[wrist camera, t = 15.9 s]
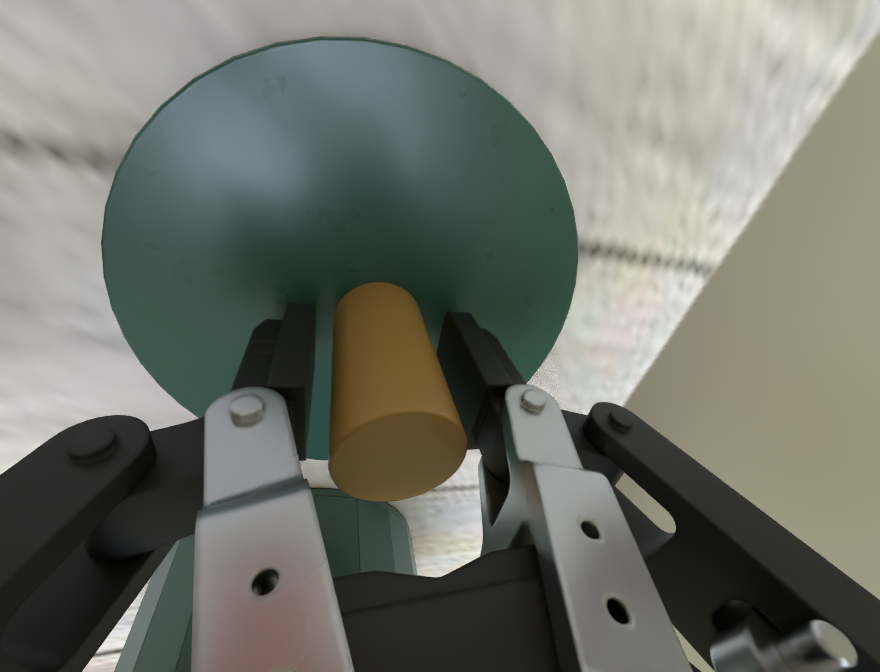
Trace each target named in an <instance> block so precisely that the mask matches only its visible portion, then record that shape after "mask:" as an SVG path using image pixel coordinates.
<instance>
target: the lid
mask: <svg viewBox="0 0 880 672" xmlns="http://www.w3.org/2000/svg"><path fill="white" fill-rule="evenodd" d="M101 246H102V259H103V273H104V279H105V283H106V287H107V291H108V295H109V299H110V303H111V307H112V310H113V312H114V314H115V317H116V319H117V321H118V324H119V326H120V328H121V331H122V333H123V335H124V337H125V339H126V341H127V342H128V344H129V345H130V347H131V349H132V350H133V352H134V353H135V355H136V356H137V358H138V360H139V361H140V363H141V364H142V365H143V366H144V368H145V369H146V370H147V371H148V372H149V374H150V375H151V376H152V377H153V378H154V379H155V381H156V382H157V383H158V384H159V385H160V386H161V387H162V388H163V389H164V390H165V391H166V392H167V393H168V394H169V395H170V396H172V397H173V398H174V399H175V400H176V401H177V402H178V403H179V404H180V405H182V406H183V407H184V408H186V409H187V410H189V411H190V412H191V413H193V414H194V415H195V416H197V417H198V418H201V417H203V416H205V413H206V411H207V409H208V408H209V406H210V405H211V404H212V403H213V402H214V401H215V400H216V399H218V398H219V397H220V396H222V395H224V394H226V393H228V392H230V391H231V388H232V385H233V383H234V380H235V377H236V375H237V372H238V369H239V367H240V364H241V361H242V359H243V356H244V354H245V351H246V348H247V345H248V344H249V340H250V337H251V335H252V332H253V329H254V328H255V327H257V326H258V325H259V324H260V323H262V322H263V321H264V320H265V319H278V320H283V317H284V313H285V309H286V306H287V303H288V302H289V303H307V304H315V370H314V381H313V391H312V401H311V412H310V422H309V433H308V443H307V453H306V458H308V459H315V460H328V467H329V472H330V476H331V477H332V479H333V481H334V483H335V484H336V485H337V486H338V487H339V488H340V489H341V490H342V491H344V492H345V493H347V494H349V495H351V496H353V497H356V498H359V499H363V500H368V501H377V502H387V501H397V500H403V499H408V498H411V497H415V496H418V495H421V494H423V493H426V492H428V491H430V490H432V489H434V488H436V487H437V486H439V485H441V484H442V483H444V482H445V481H446V480H447V479H449V478H450V477H451V476H452V475H453V474H454V473H455V472H456V471H457V470H458V468H459V467H460V465H461V464H462V462H463V460H464V458H465V455H466V451H467V437H466V434H465V431H464V428H463V426H462V423H461V420H460V418H459V415H458V412H457V409H456V407H455V404H454V401H453V399H452V396H451V393H450V390H449V388H448V385H447V382H446V380H445V377H444V374H443V372H442V369H441V366H440V363H439V361H438V358H437V355H436V352H437V347H438V343H439V338H440V334H441V329H442V325H443V320H444V317H445V314H446V313H447V312H448V311H450V312H468V313H471V314H472V315H473V317H474V319H475V320H476V322H477V324H478V325H479V327H480V328H485V329H487V330H488V331H489V332H490V333H492V334H493V335H494V336H495V337H497V339H498V340H499V342H500V343H501V345H502V347H503V349H504V350H505V351H506V353H507V354H508V358H510V359H511V360H512V362H513V364H514V365H515V367H516V368H517V370H518V371H519V373H520V374H521V376H522V377H523V379H524V381H525V382H526V383H527V382H528V381H529V380H530V379H531V377H532V376H533V375H534V374H535V372H536V371H537V370H538V369H539V367H540V366H541V365H542V363H543V362H544V360H545V359H546V357H547V355H548V354H549V352H550V351H551V349H552V348H553V346H554V344H555V342H556V340H557V338H558V336H559V334H560V332H561V330H562V328H563V325H564V322H565V320H566V317H567V314H568V311H569V309H570V305H571V301H572V297H573V293H574V288H575V284H576V275H577V265H578V237H577V229H576V223H575V217H574V211H573V207H572V203H571V200H570V197H569V194H568V191H567V187H566V184H565V181H564V179H563V177H562V175H561V173H560V171H559V169H558V167H557V164H556V162H555V160H554V158H553V156H552V154H551V153H550V151H549V150H548V148H547V147H546V145H545V144H544V142H543V141H542V139H541V138H540V136H539V135H538V133H537V132H536V130H535V129H534V128H533V126H532V125H531V124H530V123H529V122H528V121H527V120H526V119H525V118H524V117H523V116H522V115H521V114H520V112H519V111H518V110H517V109H516V108H515V107H514V106H513V105H512V104H511V103H510V102H509V101H508V100H507V99H505V98H504V97H503V96H501V95H500V94H499V93H498V92H496V91H495V90H494V89H493V88H491V87H490V86H489V85H488V84H486V83H485V82H484V81H482V80H481V79H480V78H478V77H476V76H474V75H472V74H471V73H469V72H467V71H465V70H463V69H462V68H460V67H458V66H456V65H454V64H453V63H451V62H449V61H447V60H445V59H442V58H440V57H437V56H434V55H431V54H429V53H426V52H423V51H421V50H418V49H415V48H412V47H410V46H406V45H401V44H396V43H391V42H386V41H380V40H375V39H370V38H364V37H325V36H320V37H313V38H306V39H299V40H292V41H285V42H278V43H274V44H271V45H268V46H265V47H261V48H258V49H255V50H252V51H249V52H246V53H243V54H240V55H237V56H234V57H232V58H230V59H228V60H226V61H224V62H223V63H221V64H219V65H217V66H215V67H213V68H212V69H210V70H208V71H206V72H204V73H202V74H201V75H199V76H197V77H195V78H194V79H192V80H191V81H190V82H189V83H187V84H186V85H185V86H184V87H183V88H181V89H180V90H179V91H178V92H176V93H175V94H174V95H173V96H172V97H170V98H169V99H168V100H167V101H165V102H164V103H163V104H162V105H161V106H160V107H159V108H158V109H157V111H156V112H155V113H154V114H153V115H152V117H151V118H150V119H149V120H148V121H147V123H146V124H145V125H144V126H143V127H142V129H141V130H140V131H139V132H138V133H137V135H136V136H135V137H134V139H133V141H132V143H131V145H130V147H129V148H128V150H127V152H126V154H125V156H124V158H123V159H122V161H121V163H120V165H119V167H118V169H117V170H116V173H115V177H114V180H113V183H112V186H111V189H110V193H109V196H108V199H107V202H106V206H105V213H104V222H103V231H102V240H101Z"/></svg>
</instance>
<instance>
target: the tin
mask: <svg viewBox="0 0 880 672" xmlns="http://www.w3.org/2000/svg"><path fill="white" fill-rule="evenodd" d="M311 493H312V497H313V501H314V506H315V510H316V514H317V518H318V522H319V526H320V531H321V535H322V539H323V543H324V547H325V551H326V556H327V560H328V564H329V568H330V572H331V576H332V577H338V576H345V575H351V574H357V573H363V572H369V571H375V570H376V571H384V572H392V573H401V574H409V575H417V570H416V564H415V558H414V552H413V545H412V540H411V537H410V534H409V528H408V525H407V523H406V521H405V519H404V518H403V516H402V515H401V514H400V513H399V512H398V511H397V510H396V509H395V508H393V507H392V506H390V505H389V504H387V503H385V502H377V501H368V500H363V499H359V498H356V497H353V496H351V495H349V494H347V493H345V492H344V491H342V490H335V489H311ZM194 551H195V534H193V535H190V536H187V537H185V538H182V539H180V540H177V541H176V543H175V544H174V546H173V547H172V549H171V550H170V551H169V553H168V554H167V555H166V557H165V558H164V560H163V561H162V562H161V564H160V565H159V566H158V568H157V569H156V571H155V572H154V573H153V575H152V577H151V579H150V582H149V584H148V587H147V589H146V592H145V595H144V597H143V600H142V602H141V605H140V607H139V610H138V612H137V615H136V617H135V620H134V623H133V625H132V628H131V630H130V633H129V635H128V638H127V640H126V643H125V645H124V648H123V650H122V653H121V656H120V658H119V661H118V663H117V666H116V668H115V671H114V672H191V652H192V618H193V585H194Z"/></svg>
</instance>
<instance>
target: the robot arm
mask: <svg viewBox="0 0 880 672" xmlns="http://www.w3.org/2000/svg"><path fill="white" fill-rule="evenodd" d="M436 355H437V358H438V361H439V363H440V366H441V369H442V372H443V374H444V377H445V380H446V382H447V385H448V388H449V390H450V393H451V396H452V399H453V401H454V404H455V407H456V409H457V412H458V415H459V418H460V420H461V423H462V426H463V428H464V431H465V434H466V437H467V450H470V449H479V450H480V452H481V455H482V456H481V459H480V462H479V465H478V476H479V488H480V500H481V513H482V525H483V544H482V550H481V555H480V557H479V558H477V559H475V560H473V561H471V562H469V563H467V564H466V565H464V566H462V567H460V568H458V569H456V570H454V571H452V572H450V573H448V574H446V575H444V576H442V577H437V578H435V577H425V576H417V575H409V574H401V573H392V572H384V571H376V570H375V571H369V572H363V573H357V574H351V575H345V576H338V577H332V576H331V572H330V568H329V564H328V560H327V556H326V551H325V547H324V543H323V539H322V535H321V531H320V526H319V522H318V518H317V514H316V510H315V506H314V501H313V497H312V493H311V489H310V486H309V483H308V481H307V479H303V475H302V471H301V467H300V463H299V461H303V460H306V453H307V443H308V433H309V422H310V412H311V401H312V391H313V381H314V370H315V304H307V303H289V302H288V303H287V306H286V309H285V313H284V317H283V320H278V319H265V320H264V321H263V322H262V323H260V324H259V325H258V326H257V327H255V328H254V329H253V332H252V335H251V337H250V340H249V344H248V345H247V348H246V351H245V354H244V356H243V359H242V361H241V364H240V367H239V369H238V372H237V375H236V377H235V380H234V383H233V385H232V388H231V391H230V392H228V393H226V394H224V395H222V396H220V397H219V398H218V399H216V400H215V401H214V402H213V403H212V404H211V405H210V406H209V408H208V409H207V411H206V413H205V416H203V417H201V418H199V419H196V420H193V421H190V422H187V423H183V424H179V425H175V426H171V427H167V428H163V429H158V430H154V431H149V428H148V426H147V425H146V423H144V422H143V421H142V420H140V419H138V418H135V417H132V416H125V415H113V416H104V417H99V418H94V419H91V420H87V421H84V422H81V423H78V424H76V425H74V426H72V427H69V428H67V429H65V430H64V431H62V432H60V433H58V434H57V435H55V436H54V437H52V438H51V439H49V440H48V441H47V442H45V443H44V444H42V445H41V446H40V447H38V448H37V449H36V450H34V451H33V452H31V453H30V454H29V455H27V456H26V457H25V458H23V459H22V460H20V461H19V462H18V463H16V464H15V465H14V466H12V467H11V468H9V469H8V470H7V471H5V472H4V473H3V474H1V475H0V672H82V671H83V669H84V668H85V667H86V665H87V664H88V662H89V661H90V660H91V658H92V657H93V656H94V654H95V653H96V651H97V650H98V649H99V647H100V646H101V645H102V643H103V642H104V640H105V639H106V638H107V636H108V635H109V634H110V632H111V631H112V629H113V628H114V627H115V625H116V624H117V623H118V621H119V620H120V619H121V617H122V616H123V614H124V613H125V612H126V610H127V609H128V608H129V606H130V605H131V603H132V602H133V601H134V599H135V598H136V597H137V595H138V594H139V592H140V591H141V590H142V588H143V587H144V586H145V584H146V583H147V582H148V580H149V579H150V577H151V576H152V575H153V573H154V572H155V571H156V569H157V568H158V566H159V565H160V564H161V562H162V561H163V560H164V558H165V557H166V555H167V554H168V553H169V551H170V550H171V549H172V547H173V546H174V544H175V543H176V541H177V540H180V539H182V538H185V537H187V536H190V535H193V534H195V551H194V585H193V618H192V652H191V672H701V671H700V670H698V669H697V668H696V667H695V666H694V665H692V664H691V663H690V662H689V661H688V659H687V657H686V655H685V652H684V650H683V648H682V646H681V643H680V641H679V639H678V637H677V634H676V632H675V630H674V627H675V628H676V629H677V630H678V631H679V632H680V633H681V634H682V635H683V636H684V638H685V639H686V640H687V641H688V642H689V643H690V644H691V645H692V647H693V648H694V649H695V650H696V651H697V652H698V653H699V654H700V656H701V657H702V658H703V659H704V660H705V661H706V662H707V663H708V664H709V666H711V668H712V669H713V670H714V671H715V672H880V600H879V599H877V598H876V597H875V596H874V595H872V594H871V593H870V592H868V591H867V590H866V589H864V588H863V587H861V586H860V585H859V584H858V583H856V582H855V581H854V580H852V579H851V578H850V577H848V576H847V575H846V574H844V573H843V572H842V571H840V570H839V569H838V568H837V567H835V566H834V565H833V564H831V563H830V562H828V561H827V560H826V559H825V558H823V557H822V556H821V555H819V554H818V553H817V552H815V551H814V550H813V549H811V548H810V547H809V546H808V545H806V544H805V543H804V542H802V541H801V540H800V539H798V538H797V537H796V536H794V535H793V534H792V533H790V532H789V531H788V530H786V529H785V528H784V527H782V526H781V525H780V524H778V523H777V522H776V521H775V520H773V519H772V518H771V517H769V516H768V515H767V514H765V513H764V512H763V511H761V510H760V509H759V508H757V507H756V506H755V505H753V504H752V503H751V502H750V501H748V500H747V499H746V498H744V497H743V496H742V495H740V494H739V493H738V492H736V491H735V490H734V489H732V488H731V487H730V486H728V485H727V484H726V483H724V482H723V481H722V480H720V479H719V478H718V477H716V476H715V475H714V474H713V473H711V472H710V471H709V470H707V469H706V468H705V467H703V466H702V465H701V464H699V463H698V462H697V461H695V460H694V459H693V458H691V457H690V456H689V455H688V454H686V453H685V452H684V451H682V450H681V449H680V448H678V447H677V446H676V445H674V444H673V443H672V442H670V441H669V440H668V439H666V438H665V437H664V436H663V435H661V434H660V433H658V432H657V431H656V430H654V429H653V428H652V427H651V426H649V425H648V424H647V423H645V422H644V421H643V420H641V419H640V418H639V417H637V416H636V415H635V414H633V413H632V412H630V411H629V410H627V409H625V408H623V407H621V406H619V405H616V404H613V403H608V402H600V403H596V404H595V405H594V406H593V407H592V408H591V410H590V412H589V414H588V415H583V414H579V413H574V412H570V411H565V410H561V409H560V407H559V405H558V403H557V402H556V400H555V399H554V398H553V397H552V396H551V395H550V394H548V393H547V392H545V391H544V390H542V389H540V388H538V387H535V386H532V385H527V384H526V382H525V381H524V379H523V377H522V376H521V374H520V373H519V371H518V370H517V368H516V367H515V365H514V364H513V362H512V360H511V359H510V358H508V354H507V353H506V351H505V350H504V349H503V347H502V345H501V343H500V342H499V340H498V339H497V337H495V336H494V335H493V334H492V333H490V332H489V331H488V330H487V329H485V328H480V327H479V325H478V324H477V322H476V320H475V319H474V317H473V315H472V314H471V313H468V312H450V311H448V312H447V313H446V314H445V317H444V320H443V325H442V329H441V334H440V338H439V343H438V347H437V352H436ZM624 472H625V473H626V474H627V475H628V476H629V477H630V478H632V479H633V480H634V481H635V482H636V483H637V484H638V485H639V486H640V487H642V488H643V489H644V490H645V491H646V492H647V493H648V494H649V495H650V496H651V497H653V498H654V499H655V500H656V501H657V502H658V503H659V504H660V505H661V506H663V507H664V508H665V509H666V510H667V511H668V512H669V513H670V514H671V516H672V517H673V519H674V521H675V524H676V532H675V533H667V532H665V531H663V530H661V529H660V528H658V527H657V526H656V525H655V524H654V523H653V522H652V521H651V520H650V519H649V518H648V517H647V516H646V515H645V514H644V513H643V512H642V511H640V510H639V509H638V508H637V507H636V506H635V505H634V504H633V503H632V502H631V501H630V500H629V499H628V498H627V497H626V496H625V495H624V494H623V493H621V492H620V491H619V490H618V489H617V488H616V487H615V485H616V483H617V482H618V481H619V479H620V478H621V476H622V475H623V474H624ZM672 624H673V625H674V627H673V625H672Z"/></svg>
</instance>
